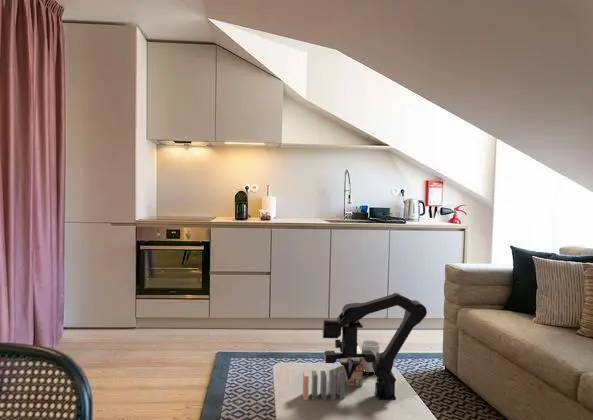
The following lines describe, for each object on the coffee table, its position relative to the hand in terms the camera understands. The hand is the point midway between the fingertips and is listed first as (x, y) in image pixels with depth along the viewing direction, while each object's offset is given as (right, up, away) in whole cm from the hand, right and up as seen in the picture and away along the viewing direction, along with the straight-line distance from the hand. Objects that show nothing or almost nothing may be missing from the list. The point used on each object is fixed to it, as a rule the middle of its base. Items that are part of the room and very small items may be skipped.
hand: (348, 378), depth 172 cm
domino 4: (-6, -7, 0) cm, 9 cm away
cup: (+12, -6, +24) cm, 28 cm away
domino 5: (-3, -7, 0) cm, 7 cm away
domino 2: (-13, -7, -1) cm, 15 cm away
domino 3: (-10, -7, 0) cm, 12 cm away
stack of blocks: (+4, -6, +19) cm, 21 cm away
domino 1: (-16, -7, -1) cm, 18 cm away
